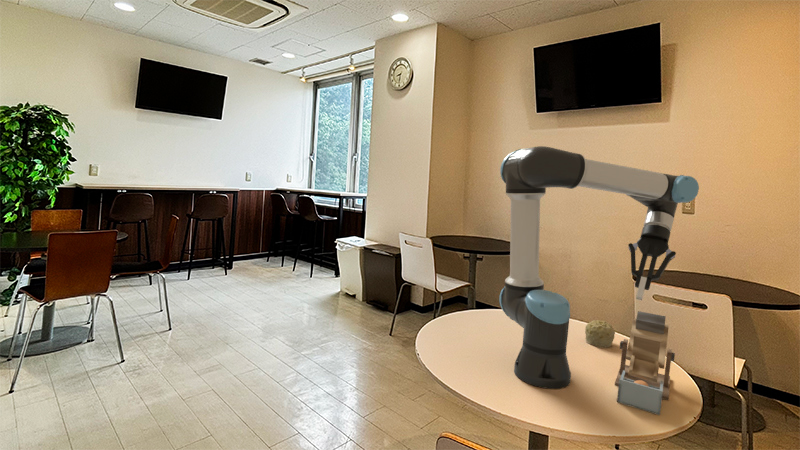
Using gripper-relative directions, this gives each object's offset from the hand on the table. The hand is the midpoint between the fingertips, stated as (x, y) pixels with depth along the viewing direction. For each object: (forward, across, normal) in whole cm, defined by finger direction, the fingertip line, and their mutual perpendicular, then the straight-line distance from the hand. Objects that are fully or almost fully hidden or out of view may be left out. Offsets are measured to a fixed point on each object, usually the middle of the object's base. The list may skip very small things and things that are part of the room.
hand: (639, 298), depth 120 cm
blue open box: (+29, -6, +8) cm, 31 cm away
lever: (+14, -5, 0) cm, 15 cm away
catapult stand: (+23, -6, -3) cm, 23 cm away
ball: (+26, -6, +8) cm, 28 cm away
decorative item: (+12, +10, -24) cm, 29 cm away
